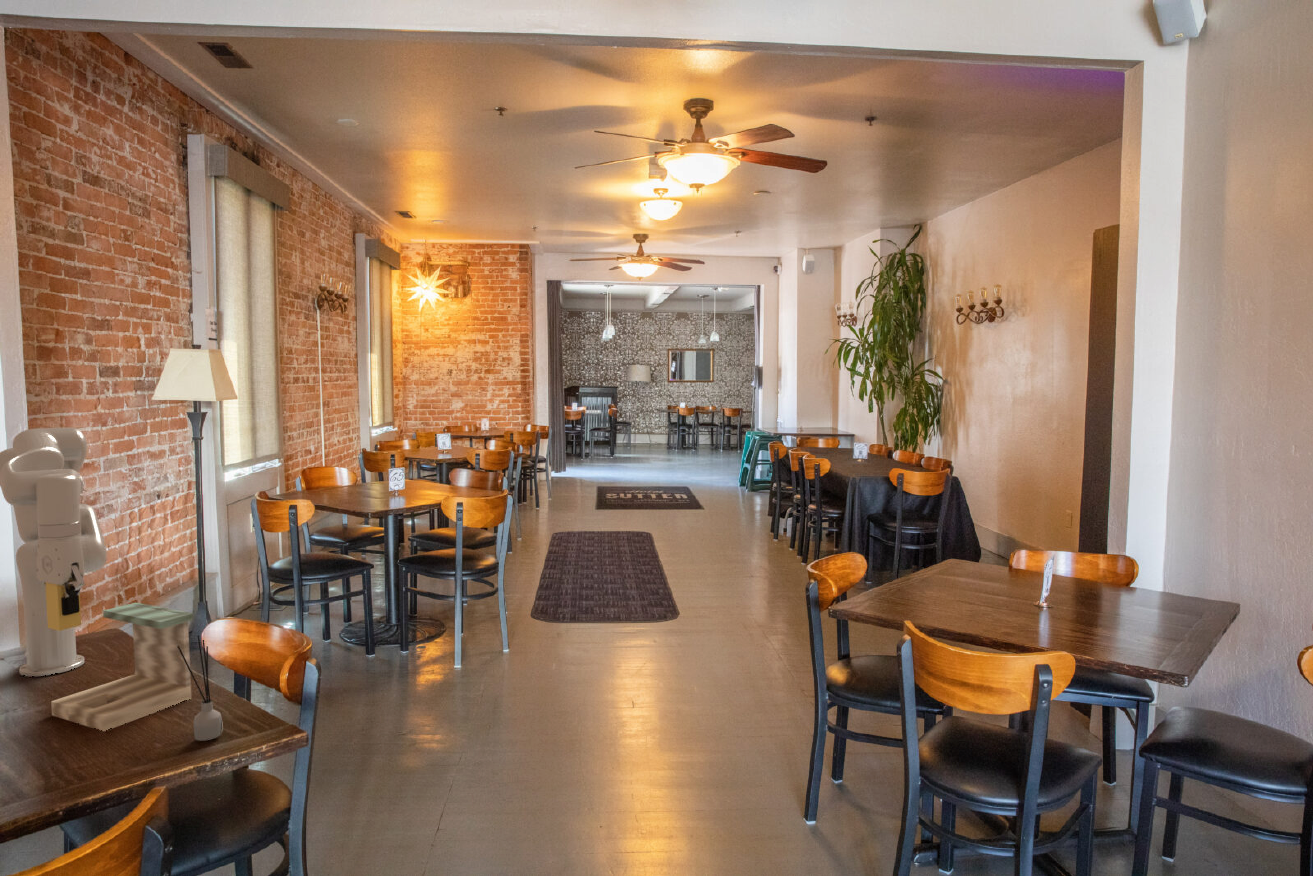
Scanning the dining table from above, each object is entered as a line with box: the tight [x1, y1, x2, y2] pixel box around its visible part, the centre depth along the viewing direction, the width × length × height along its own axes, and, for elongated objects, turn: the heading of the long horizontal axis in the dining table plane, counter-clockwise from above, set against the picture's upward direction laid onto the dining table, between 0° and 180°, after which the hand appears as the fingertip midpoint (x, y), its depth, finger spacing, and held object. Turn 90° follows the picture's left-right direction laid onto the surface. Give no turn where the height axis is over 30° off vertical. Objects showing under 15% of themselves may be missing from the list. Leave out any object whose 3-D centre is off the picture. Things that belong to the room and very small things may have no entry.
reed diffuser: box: [177, 634, 224, 742], centre depth 153 cm, size 10×7×20 cm
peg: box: [45, 579, 82, 631], centre depth 175 cm, size 4×4×12 cm
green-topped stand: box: [50, 602, 194, 732], centre depth 169 cm, size 20×18×19 cm
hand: (64, 611), depth 175 cm, fingers closed on peg, 4 cm apart
